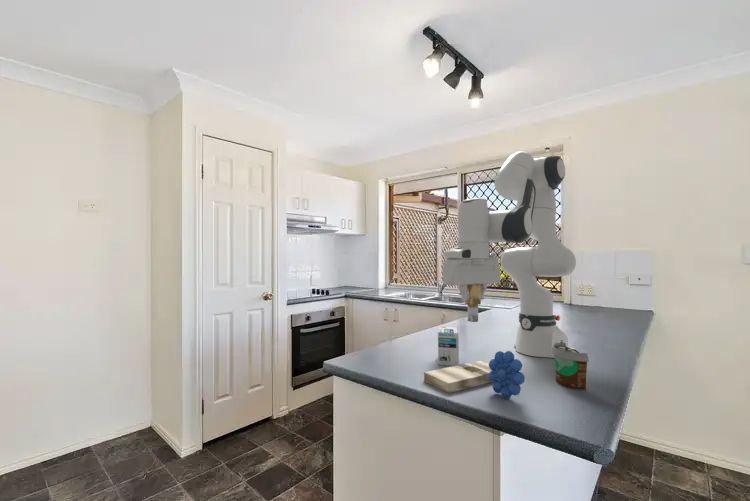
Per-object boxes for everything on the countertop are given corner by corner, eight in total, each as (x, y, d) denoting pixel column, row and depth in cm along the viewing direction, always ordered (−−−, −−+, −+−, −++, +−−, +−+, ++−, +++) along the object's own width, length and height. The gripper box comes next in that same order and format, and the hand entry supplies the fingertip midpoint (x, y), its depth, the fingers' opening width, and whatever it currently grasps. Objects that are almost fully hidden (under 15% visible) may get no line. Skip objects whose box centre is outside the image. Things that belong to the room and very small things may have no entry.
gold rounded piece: (472, 319, 105) (472, 282, 105) (484, 321, 101) (484, 283, 101) (461, 320, 103) (461, 282, 103) (473, 322, 99) (473, 283, 99)
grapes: (537, 404, 84) (537, 354, 84) (515, 409, 81) (515, 357, 81) (502, 387, 94) (502, 342, 94) (482, 391, 92) (482, 345, 92)
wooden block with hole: (479, 368, 110) (479, 360, 110) (505, 378, 101) (505, 369, 101) (424, 381, 99) (424, 371, 99) (448, 393, 90) (448, 382, 90)
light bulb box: (458, 366, 112) (458, 333, 112) (437, 365, 113) (437, 332, 114) (457, 357, 123) (457, 326, 123) (438, 356, 124) (438, 325, 124)
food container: (543, 375, 104) (543, 342, 104) (564, 376, 104) (564, 342, 104) (564, 392, 91) (564, 353, 92) (588, 392, 91) (588, 353, 91)
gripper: (489, 253, 110) (489, 297, 110) (439, 252, 100) (439, 300, 100) (505, 253, 105) (505, 299, 105) (454, 252, 94) (454, 303, 94)
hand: (472, 300), depth 102 cm, fingers closed on gold rounded piece, 4 cm apart
